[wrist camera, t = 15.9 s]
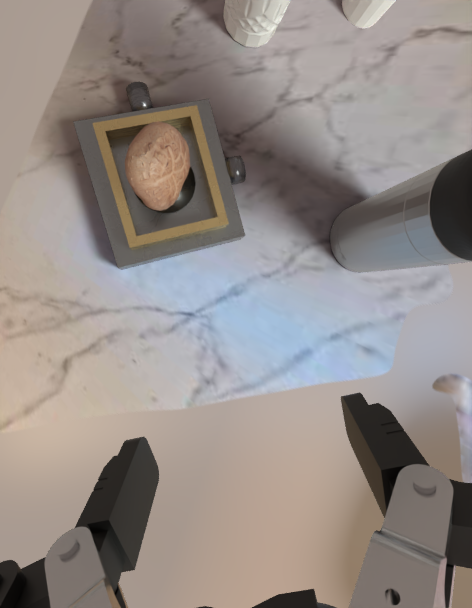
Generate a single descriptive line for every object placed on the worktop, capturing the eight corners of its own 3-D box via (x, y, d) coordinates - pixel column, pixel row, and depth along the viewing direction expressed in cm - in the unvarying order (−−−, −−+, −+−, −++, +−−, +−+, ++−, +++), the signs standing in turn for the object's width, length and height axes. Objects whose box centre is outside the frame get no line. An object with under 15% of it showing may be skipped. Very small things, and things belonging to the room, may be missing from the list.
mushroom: (171, 139, 36) (171, 97, 28) (206, 184, 37) (216, 155, 29) (117, 180, 35) (101, 148, 27) (154, 225, 36) (150, 206, 28)
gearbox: (215, 85, 40) (221, 57, 35) (254, 235, 42) (265, 228, 37) (72, 108, 37) (58, 80, 32) (121, 269, 39) (114, 266, 34)
